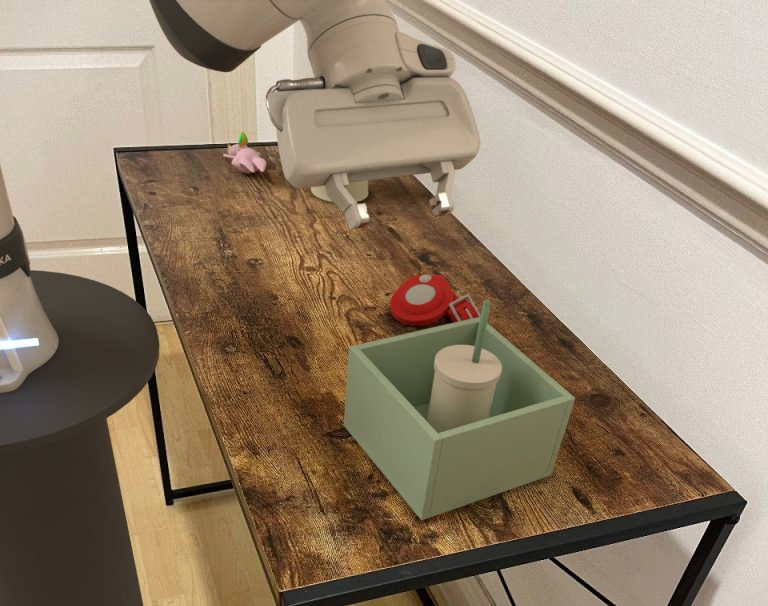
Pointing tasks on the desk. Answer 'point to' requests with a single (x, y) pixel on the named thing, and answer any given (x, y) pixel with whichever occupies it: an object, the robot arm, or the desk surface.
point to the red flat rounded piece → (429, 302)
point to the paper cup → (464, 382)
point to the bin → (459, 445)
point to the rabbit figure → (245, 156)
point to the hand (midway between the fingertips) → (403, 220)
